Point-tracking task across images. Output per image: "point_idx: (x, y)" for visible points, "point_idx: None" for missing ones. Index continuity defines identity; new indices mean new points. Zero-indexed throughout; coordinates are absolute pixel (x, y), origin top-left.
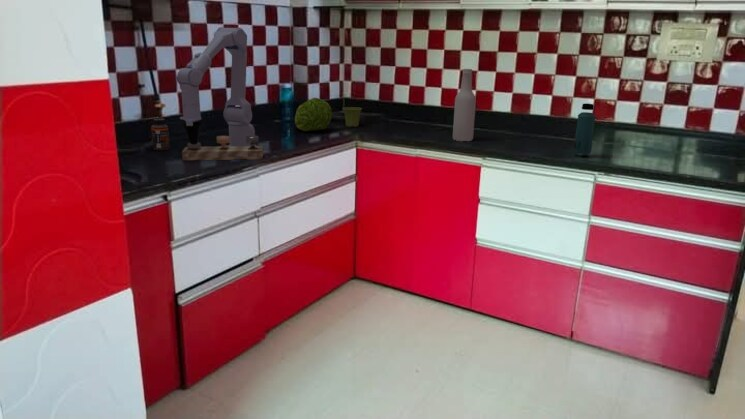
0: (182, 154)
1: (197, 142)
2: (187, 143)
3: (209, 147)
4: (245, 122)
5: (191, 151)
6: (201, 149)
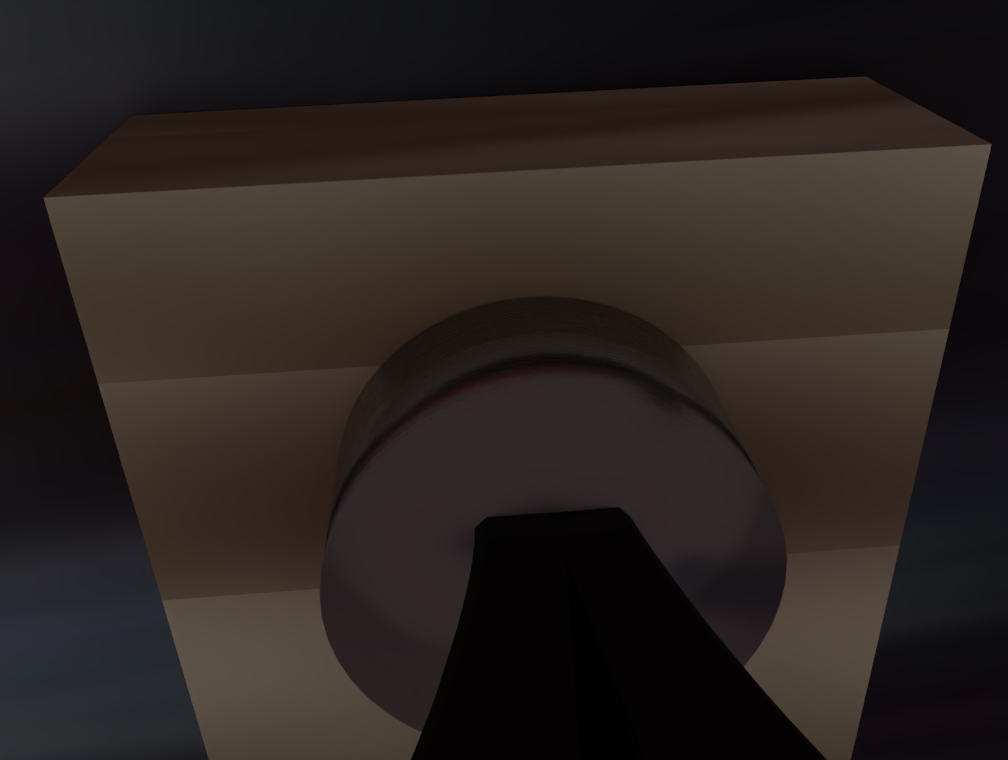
0: (78, 174)
1: None
2: (519, 408)
3: None
4: None
5: (150, 466)
6: None
